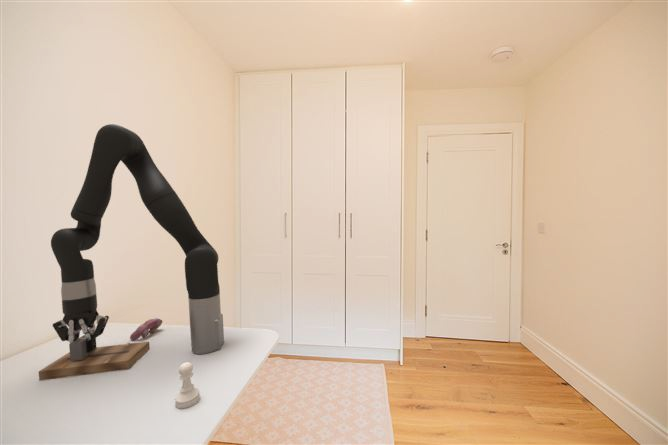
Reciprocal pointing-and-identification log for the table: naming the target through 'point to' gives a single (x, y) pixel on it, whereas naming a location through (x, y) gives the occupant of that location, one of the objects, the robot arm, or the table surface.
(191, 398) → the chess pawn
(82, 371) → the fader base
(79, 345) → the fader cap
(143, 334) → the video game controller
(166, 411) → the table surface
